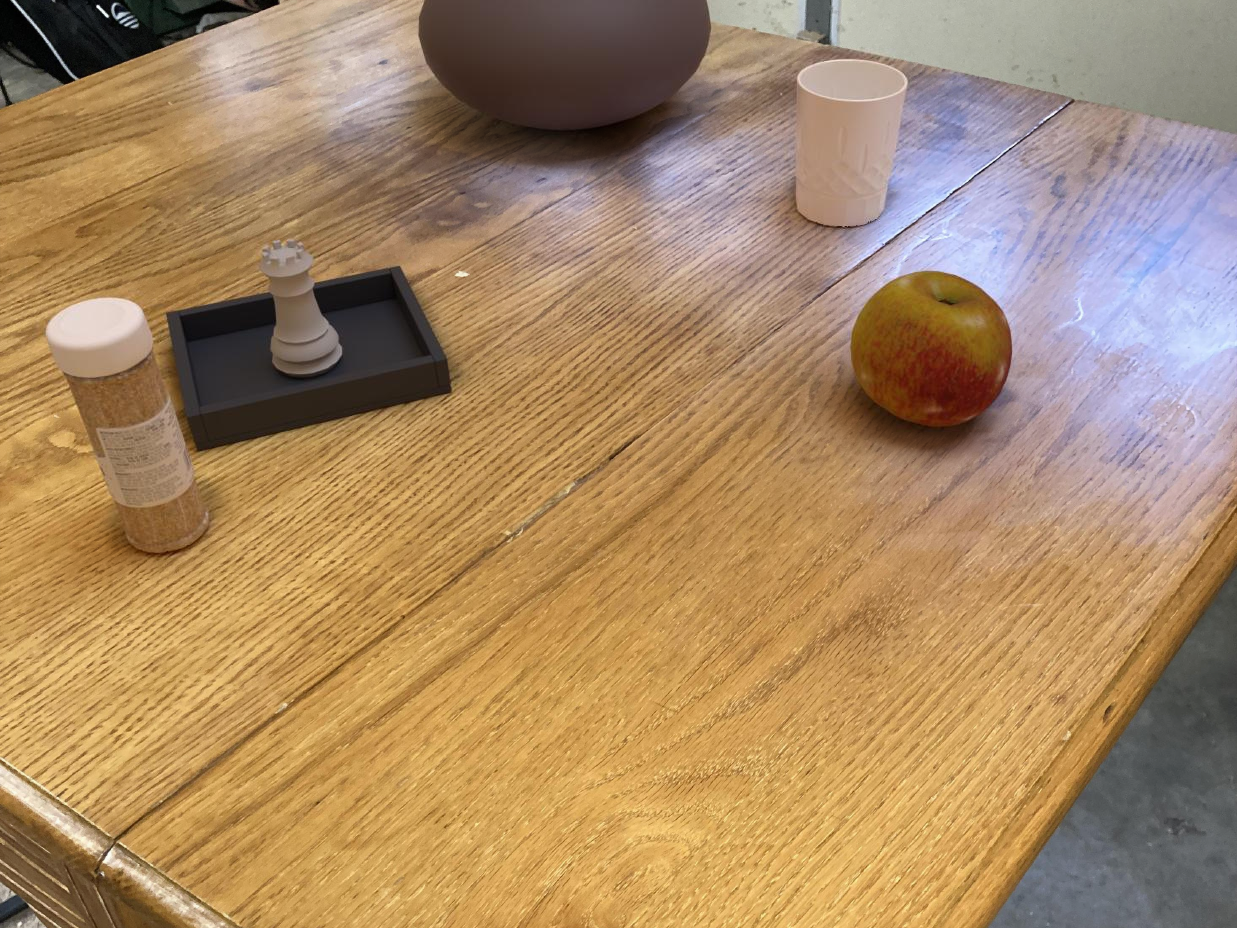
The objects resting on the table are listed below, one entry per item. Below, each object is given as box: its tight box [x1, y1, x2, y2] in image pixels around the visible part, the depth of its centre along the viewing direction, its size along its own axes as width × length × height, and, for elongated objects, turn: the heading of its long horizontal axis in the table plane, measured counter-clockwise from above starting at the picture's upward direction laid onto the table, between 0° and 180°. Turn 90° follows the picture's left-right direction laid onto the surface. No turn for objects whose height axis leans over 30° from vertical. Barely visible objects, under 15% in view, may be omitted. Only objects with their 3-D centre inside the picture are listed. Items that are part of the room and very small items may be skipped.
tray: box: [165, 265, 453, 452], centre depth 78 cm, size 16×13×2 cm
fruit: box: [849, 270, 1013, 428], centre depth 71 cm, size 10×9×8 cm
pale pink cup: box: [794, 58, 909, 228], centre depth 90 cm, size 8×8×10 cm
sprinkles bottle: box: [45, 297, 211, 554], centre depth 62 cm, size 5×5×13 cm
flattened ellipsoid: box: [417, 0, 712, 131], centre depth 104 cm, size 25×25×15 cm
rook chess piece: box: [258, 238, 342, 378], centre depth 75 cm, size 4×4×8 cm
